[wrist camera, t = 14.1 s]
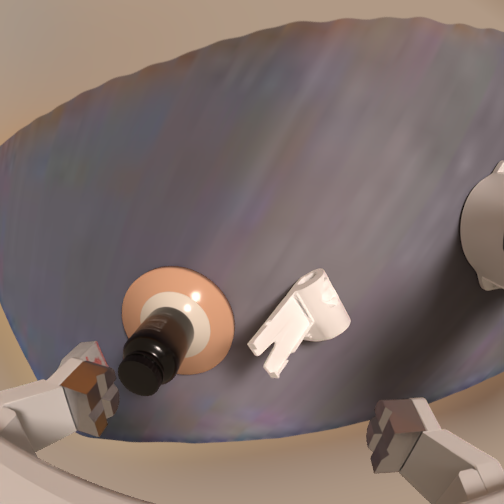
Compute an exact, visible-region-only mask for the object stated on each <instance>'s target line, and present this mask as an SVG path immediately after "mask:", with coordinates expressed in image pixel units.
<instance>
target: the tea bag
mask: <svg viewBox="0 0 504 504" xmlns="http://www.w3.org/2000/svg"><path fill="white" fill-rule="evenodd" d="M71 357H77V358H80V359H83V360H86V361H90V362H93V363H97V364H100V365H103V366H107V367H108V365H107V363H106V361H105V359H104V356H103V354H102V352H101V350H100V348H99V345H98V343H97V341H92V342H82V343H80V344H79V345H77V346H76V347H75V348H74V349H73V350H72V351H71V352H70V353H69V354H68V355H66V356H65V357H64V358H63V359H62V361H61V363H60V365H59V368H60V367H61V366H63V365H64V364H65V363H66V362H67V361H68V360H69V359H70V358H71ZM59 368H58V369H59ZM58 369H57V370H58Z"/></svg>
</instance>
